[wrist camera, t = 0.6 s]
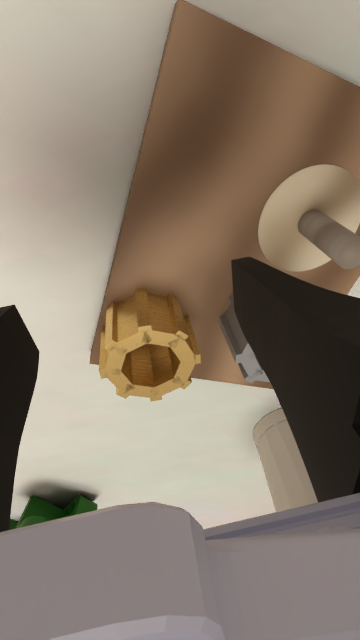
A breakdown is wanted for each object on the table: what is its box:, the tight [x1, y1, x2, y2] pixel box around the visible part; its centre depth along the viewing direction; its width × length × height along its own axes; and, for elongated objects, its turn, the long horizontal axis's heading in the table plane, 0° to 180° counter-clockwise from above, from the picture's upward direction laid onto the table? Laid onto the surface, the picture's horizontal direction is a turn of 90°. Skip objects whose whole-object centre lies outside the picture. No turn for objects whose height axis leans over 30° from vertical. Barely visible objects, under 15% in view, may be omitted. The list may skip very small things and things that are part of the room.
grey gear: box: [220, 293, 270, 383], centre depth 22 cm, size 6×6×4 cm
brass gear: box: [99, 288, 201, 401], centre depth 21 cm, size 6×6×4 cm
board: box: [90, 0, 360, 389], centre depth 20 cm, size 16×20×6 cm
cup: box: [253, 408, 318, 512], centre depth 29 cm, size 8×8×12 cm
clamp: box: [9, 495, 97, 530], centre depth 34 cm, size 12×6×9 cm, turn 135°
